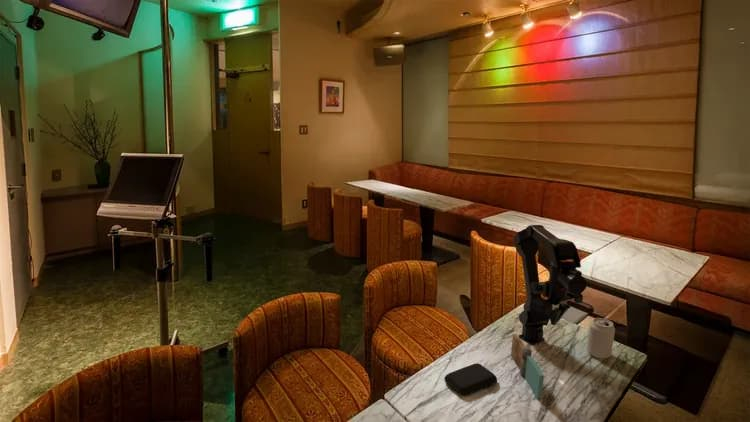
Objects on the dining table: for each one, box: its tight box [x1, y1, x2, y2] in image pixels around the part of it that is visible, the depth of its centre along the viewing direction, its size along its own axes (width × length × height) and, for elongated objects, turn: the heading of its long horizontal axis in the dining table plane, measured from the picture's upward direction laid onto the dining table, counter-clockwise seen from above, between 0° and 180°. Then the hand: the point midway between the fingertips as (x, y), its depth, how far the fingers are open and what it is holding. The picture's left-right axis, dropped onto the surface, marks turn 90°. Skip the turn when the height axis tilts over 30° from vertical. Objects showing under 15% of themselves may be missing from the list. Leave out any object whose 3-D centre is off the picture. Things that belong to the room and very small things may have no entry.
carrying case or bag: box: [443, 362, 498, 396], centre depth 134 cm, size 11×3×15 cm
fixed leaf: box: [510, 333, 533, 378], centre depth 141 cm, size 12×3×9 cm, turn 3°
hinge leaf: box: [521, 355, 545, 400], centre depth 132 cm, size 13×3×8 cm, turn 2°
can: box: [586, 317, 616, 360], centre depth 148 cm, size 8×8×12 cm
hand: (553, 324), depth 143 cm, fingers closed
